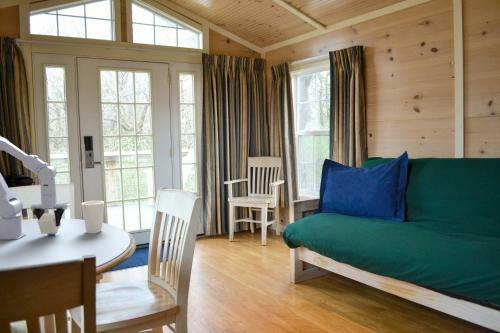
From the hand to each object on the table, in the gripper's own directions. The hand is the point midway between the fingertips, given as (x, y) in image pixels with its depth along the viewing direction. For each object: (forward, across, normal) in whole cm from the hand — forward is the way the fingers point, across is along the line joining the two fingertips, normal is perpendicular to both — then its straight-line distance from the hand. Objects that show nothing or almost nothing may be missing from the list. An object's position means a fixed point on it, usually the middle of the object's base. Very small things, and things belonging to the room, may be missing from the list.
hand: (50, 226), depth 177 cm
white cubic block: (+2, 0, +1) cm, 2 cm away
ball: (+2, 0, +1) cm, 2 cm away
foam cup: (+5, +16, +7) cm, 18 cm away
